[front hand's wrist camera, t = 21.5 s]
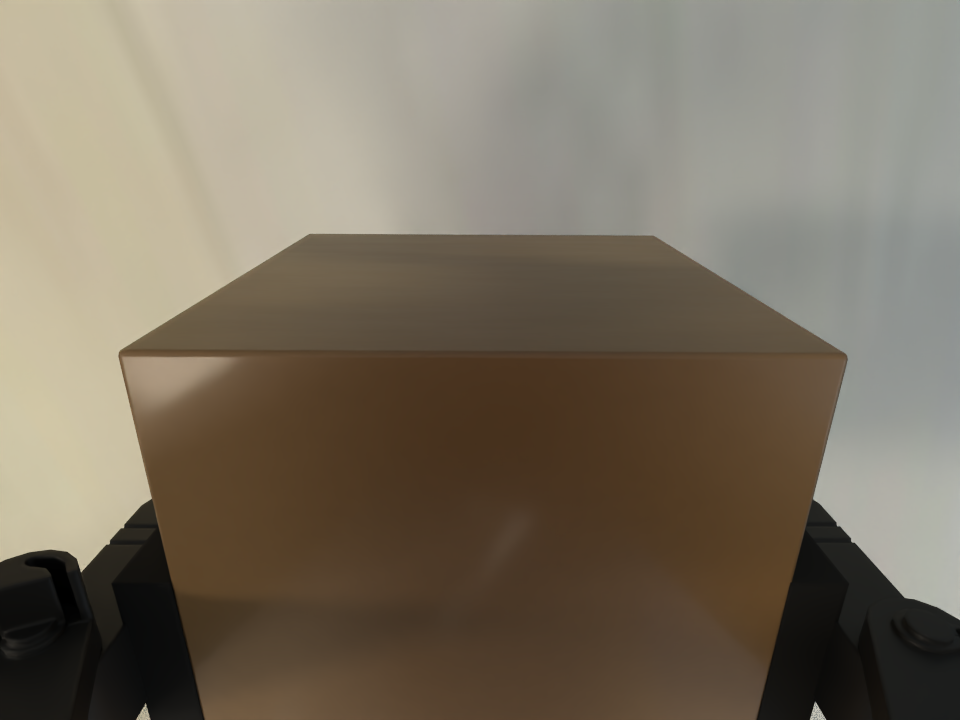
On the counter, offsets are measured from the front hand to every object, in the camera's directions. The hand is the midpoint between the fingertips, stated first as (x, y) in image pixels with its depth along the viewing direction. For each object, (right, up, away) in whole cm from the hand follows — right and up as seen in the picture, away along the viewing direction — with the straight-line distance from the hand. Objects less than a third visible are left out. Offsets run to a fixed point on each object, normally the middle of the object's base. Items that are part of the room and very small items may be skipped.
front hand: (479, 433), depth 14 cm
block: (0, 0, +1) cm, 1 cm away
